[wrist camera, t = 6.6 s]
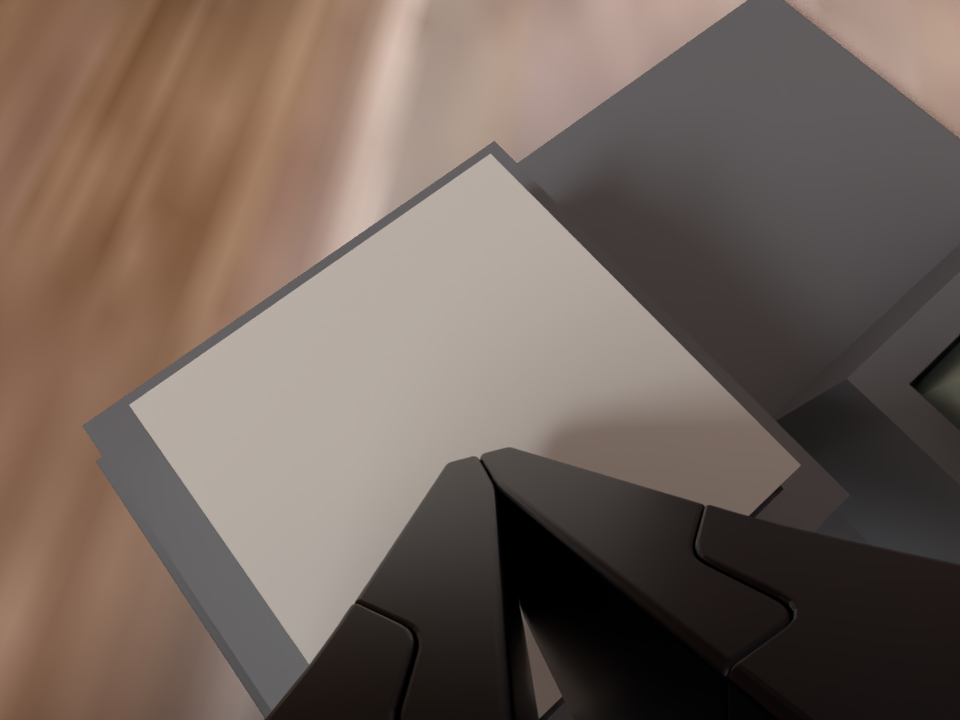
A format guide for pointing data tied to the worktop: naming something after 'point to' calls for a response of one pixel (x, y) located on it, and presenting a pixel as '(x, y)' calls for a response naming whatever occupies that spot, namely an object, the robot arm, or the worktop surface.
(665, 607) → the robot arm
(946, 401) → the grey-green block
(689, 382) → the cream block with holes
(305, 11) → the worktop surface
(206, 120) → the worktop surface
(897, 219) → the board
